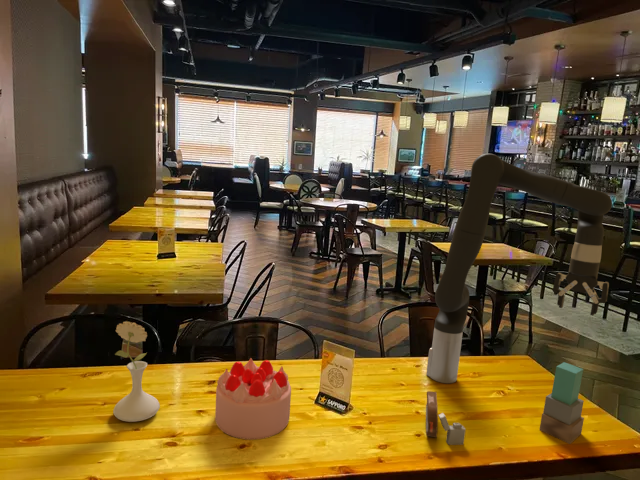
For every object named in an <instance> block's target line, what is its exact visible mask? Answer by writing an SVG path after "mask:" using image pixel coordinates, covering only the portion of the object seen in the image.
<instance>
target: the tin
mask: <svg viewBox="0 0 640 480" xmlns="http://www.w3.org/2000/svg"><path fill="white" fill-rule="evenodd" d="M438 411H439V409H438V398H437V391H431V390H430V391H429V390H428V391H426V405H425V433H426V436H427V437H432V438H433V437H434V438H437V436H438V435H437V434H438V419H439V416H438V415H439V413H438Z"/></svg>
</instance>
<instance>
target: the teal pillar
mask: <svg viewBox="0 0 640 480" xmlns="http://www.w3.org/2000/svg"><path fill="white" fill-rule="evenodd" d="M583 373H584V368H582V367H579V366H576V365H573V364H571V363H567V362H565V361H563V362H562V363H560V364H558V365H557V366H556V367H555V374H554V378H553V384H552V390H551V391H552V392H551V393H552V395H551V397H552V398H555V399H557V400H559V401H562V402H564V403H566V404H569V405H571V404H572V403H574V402H575V401H577V400H578V399H579V395H580V390H581V383H582V379H583Z"/></svg>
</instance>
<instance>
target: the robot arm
mask: <svg viewBox="0 0 640 480" xmlns="http://www.w3.org/2000/svg"><path fill="white" fill-rule="evenodd" d="M469 180H470V181H469V186H468V191H467V195H466V198H465V201H464V203H463V206H462V207H461V210H460V212H459V215H458V217H457V221H456V223H455V227H454V231H453V233H452V238H451V243H450V246H449V250H448V255H447V258H446V263H445V267H444V270H443V273H442V275H441V277H440V280H439V283H438V285H437V288H436V290H435V294H434V300H435V304H436V306H437V307H438V309H439V311H438V313H437V315H436V318H435V319H434V326H433V327H434V328H433V334H432V335H433V336H432V344H431V347H430V348H429V350H428V356H427V366H426V376H428V377H429V378H430V379H432V380H433V381H436V382H438V383H441V384H454V383H455V382H456V381H457V380H458V372H459V371H458V370H459V365H460V364H459V363H460V356H461V349H462V341H463V340H462V339H463V331H464V326H465V324H466V321H467V318H468V317H467V316H468V311H469V304H470V291H469V288H468V286H467V285H466V280H467V277H468V274H469V272H470V270H471V268H472V266H473V264H474V262H475V261H476V259H477V257H478V255H479V253H480V251H481V249H482V246H483V241H484V239H485V237H486V236H485V235H486V232H487V228H488V223H489V217H490V212H491V205H492V202H493V199H494V195H495V193H496V190H497V188H498V186H499V185H502V186H507V187H510V188H514V189H516V190H520V191H522V192H524V193H527V194H528V195H531V196H533V197H535V198H538V199H541V200H544V201H547V202H551V203H553V204H556V205H561V206H564V207H565V206H566V207H569V208H571V209H574V210H577V228H576V232H575V238H574V242H573V243H574V244H573V247H572V249H571V255H570V257H571V258H570V262H569V268H568V273H567V274H563V273H562V272H558V273H556V274H555V278H554V283H553V286H552V293H555V294H556V295H558V298H557V302H556V305H557V306H558V308H560V309H562V308H563V307H564V304H565V296H566V295H565V294H566V293H568V292H569V291H570V290H572V291H573V292H580V293H581V294H588V296H589V297H590V298H591V300H592V304H591V310H590V316H594V315H596V314H597V313H598V311H599V304H606V302H607V301H608V297H609V289H610V288H609V287H610V283H609V281H605V282H604V281H599V280H598V276H599V269H600V263H601V261H602V260H601V259H602V247H603V241H604V237H605V235H604V234H605V227H604V226H603V225H604V224H603V220H604V215H606V214H608V213H609V212H610V210H611V209H612V207H613V200H612V199H611V197H610V195H609V194H608V193H605V192H604V191H601V190H597V189H593V188H589V187H585V186H581V185H577V184H575V183H572V182H570V181H569V180H564V179H561V178H558V177H554V176H552V175H548V174H543V173H540V172H535V171H532V170H529V169H524V168H522V167H518V166H516V165H514V164H511V163H510V162H507V161H505V160H503V159H502V158H501V157H499V156H498V155H496V154H493V153H483V154H480V155H478V156H477V157H476V158H475V159H474V161H473V162H472V164H471V173H470V179H469ZM564 280H566V282H567V284H568V285H566V286H565V287H564V288H563V289H560V285H561V282H563V281H564ZM597 286H599V289H600V290H601V297H599V296H598V294H597V292H596V290H595V288H596V287H597Z"/></svg>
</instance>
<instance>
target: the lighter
mask: <svg viewBox="0 0 640 480" xmlns="http://www.w3.org/2000/svg"><path fill="white" fill-rule="evenodd" d="M438 419H439V421H440V423H441V426H442V429H443V430H444V432H446V437H445V438H446V439H445V442H446V443H447V444H448V445H449V446H451V445H452V446H456V445H459V446H461V445H464V443H465V435H466V427H465V426H464V425H463V424H461V423H460V422H453V423H452V425H449V422H448V420H447V417H446V415H445V413H444V412H441V413H440V414H439V413H438Z"/></svg>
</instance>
